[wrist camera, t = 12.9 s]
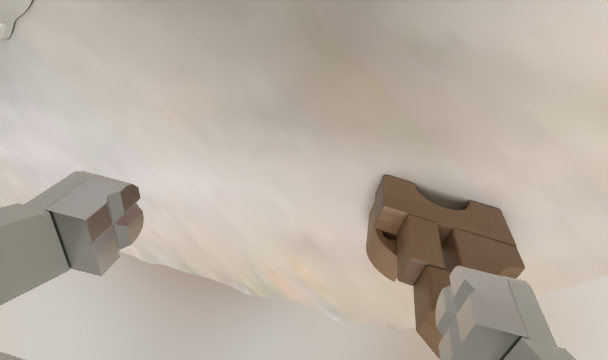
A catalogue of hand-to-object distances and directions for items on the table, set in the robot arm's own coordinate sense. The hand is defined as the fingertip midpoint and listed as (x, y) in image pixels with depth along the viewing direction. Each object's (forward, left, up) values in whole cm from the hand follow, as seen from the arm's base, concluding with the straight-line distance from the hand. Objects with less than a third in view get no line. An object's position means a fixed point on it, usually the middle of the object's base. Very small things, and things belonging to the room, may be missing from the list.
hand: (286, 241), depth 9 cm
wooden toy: (+13, -18, -29) cm, 37 cm away
